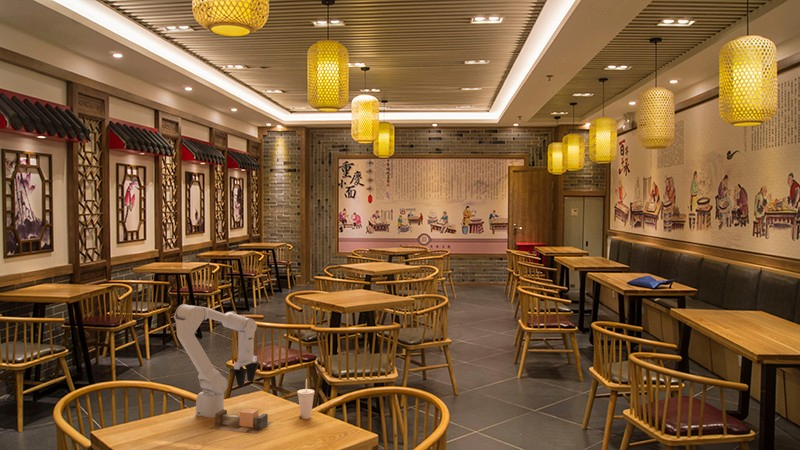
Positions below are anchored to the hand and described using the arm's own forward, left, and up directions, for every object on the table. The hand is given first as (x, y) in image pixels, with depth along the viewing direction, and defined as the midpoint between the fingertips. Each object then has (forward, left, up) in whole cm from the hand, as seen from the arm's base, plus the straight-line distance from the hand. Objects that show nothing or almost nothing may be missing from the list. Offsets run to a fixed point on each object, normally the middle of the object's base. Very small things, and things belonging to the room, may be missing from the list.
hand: (245, 383), depth 235 cm
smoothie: (+27, -4, -10) cm, 29 cm away
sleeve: (+13, -21, -8) cm, 26 cm away
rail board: (+10, -21, -9) cm, 25 cm away
